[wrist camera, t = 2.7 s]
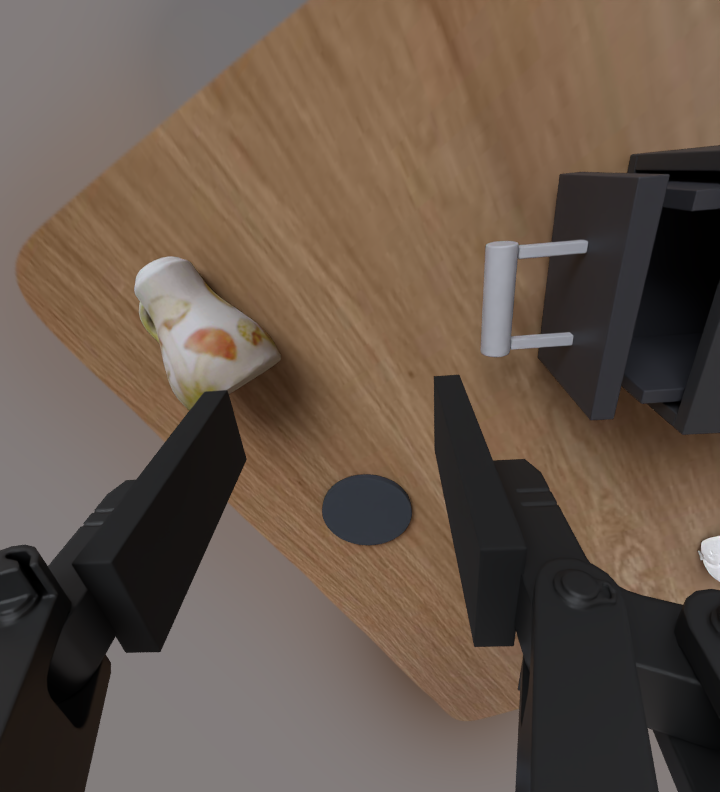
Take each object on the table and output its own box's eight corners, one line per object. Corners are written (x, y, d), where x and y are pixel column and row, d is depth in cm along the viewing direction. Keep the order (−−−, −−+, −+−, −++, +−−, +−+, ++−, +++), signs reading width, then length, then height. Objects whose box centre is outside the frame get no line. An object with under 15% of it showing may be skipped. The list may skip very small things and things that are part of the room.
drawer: (464, 362, 30) (493, 426, 22) (470, 183, 24) (509, 190, 17) (822, 338, 28) (980, 398, 21) (915, 138, 22) (1172, 124, 15)
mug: (190, 215, 27) (217, 296, 20) (271, 316, 34) (310, 398, 28) (95, 280, 27) (92, 379, 21) (196, 366, 34) (217, 458, 28)
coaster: (328, 541, 40) (328, 546, 40) (317, 476, 36) (316, 481, 36) (412, 538, 39) (413, 543, 39) (409, 471, 36) (410, 476, 35)
